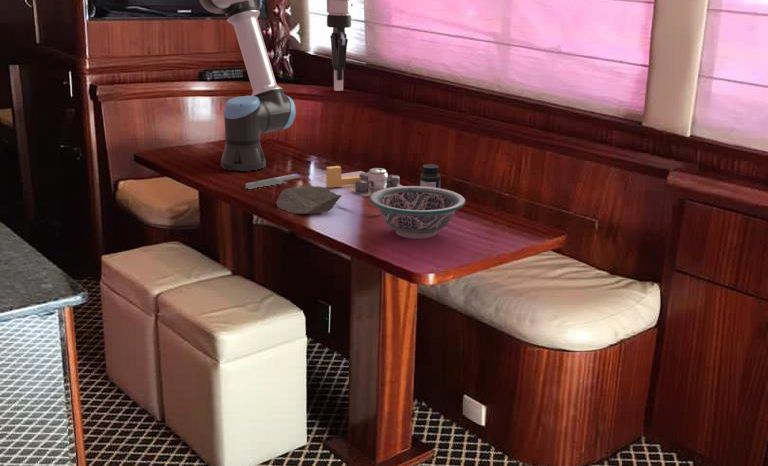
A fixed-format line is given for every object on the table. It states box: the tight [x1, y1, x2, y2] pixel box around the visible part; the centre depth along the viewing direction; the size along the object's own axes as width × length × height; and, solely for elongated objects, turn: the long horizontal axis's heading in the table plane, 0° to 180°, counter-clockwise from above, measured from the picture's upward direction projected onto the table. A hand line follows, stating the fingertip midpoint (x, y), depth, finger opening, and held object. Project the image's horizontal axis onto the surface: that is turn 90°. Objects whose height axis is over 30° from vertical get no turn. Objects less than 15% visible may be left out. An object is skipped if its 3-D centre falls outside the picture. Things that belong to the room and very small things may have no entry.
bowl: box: [369, 185, 466, 240], centre depth 222 cm, size 25×25×10 cm
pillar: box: [245, 173, 301, 189], centre depth 268 cm, size 2×2×20 cm
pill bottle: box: [419, 164, 442, 189], centre depth 251 cm, size 6×6×11 cm
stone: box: [275, 185, 342, 214], centre depth 243 cm, size 20×4×15 cm
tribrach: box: [317, 167, 403, 197], centre depth 267 cm, size 26×17×7 cm, turn 37°
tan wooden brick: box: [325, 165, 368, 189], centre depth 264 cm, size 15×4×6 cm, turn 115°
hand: (338, 90), depth 270 cm, fingers closed
